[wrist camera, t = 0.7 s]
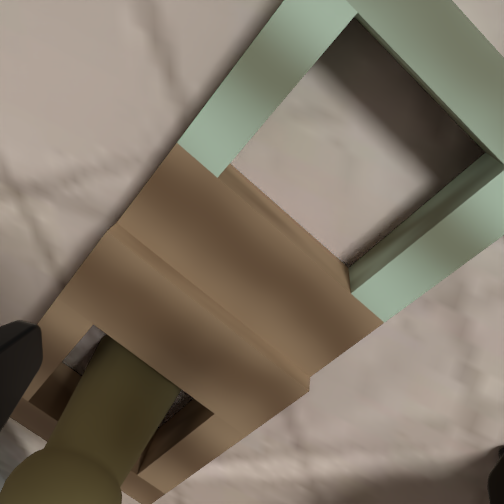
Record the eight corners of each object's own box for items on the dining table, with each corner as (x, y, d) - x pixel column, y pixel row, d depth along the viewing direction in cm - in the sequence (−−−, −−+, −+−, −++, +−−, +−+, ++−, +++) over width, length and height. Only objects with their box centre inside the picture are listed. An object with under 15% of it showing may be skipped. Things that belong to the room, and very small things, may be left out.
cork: (173, 413, 28) (93, 605, 19) (89, 379, 28) (-36, 555, 19) (199, 349, 26) (121, 536, 16) (106, 311, 26) (-31, 477, 16)
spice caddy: (164, 460, 31) (146, 507, 28) (19, 359, 29) (-19, 398, 25) (565, 149, 18) (616, 171, 15) (355, -81, 16) (362, -112, 12)
